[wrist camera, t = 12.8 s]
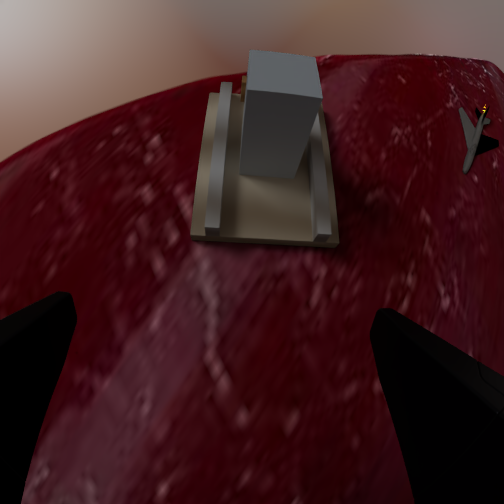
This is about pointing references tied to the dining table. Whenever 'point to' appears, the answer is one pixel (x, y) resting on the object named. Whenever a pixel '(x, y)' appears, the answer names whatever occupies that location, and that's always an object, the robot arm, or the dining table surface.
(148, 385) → the dining table surface
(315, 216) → the rail
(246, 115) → the block
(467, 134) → the toy airplane
